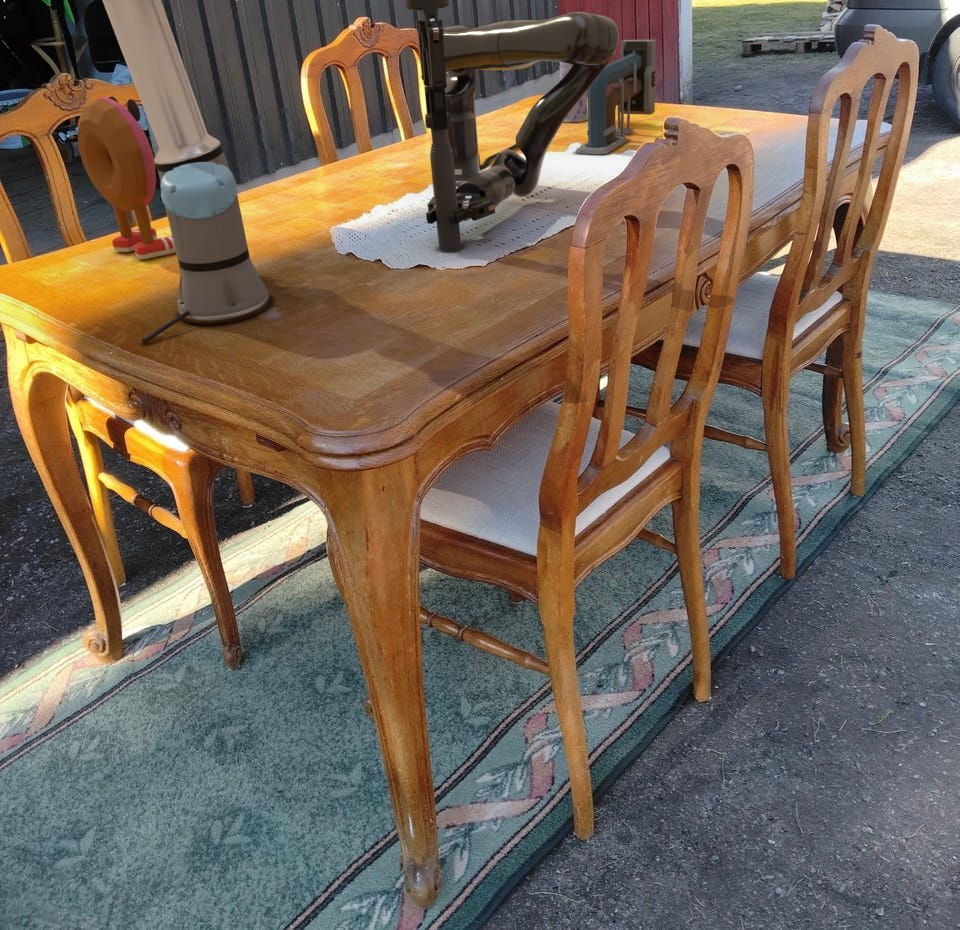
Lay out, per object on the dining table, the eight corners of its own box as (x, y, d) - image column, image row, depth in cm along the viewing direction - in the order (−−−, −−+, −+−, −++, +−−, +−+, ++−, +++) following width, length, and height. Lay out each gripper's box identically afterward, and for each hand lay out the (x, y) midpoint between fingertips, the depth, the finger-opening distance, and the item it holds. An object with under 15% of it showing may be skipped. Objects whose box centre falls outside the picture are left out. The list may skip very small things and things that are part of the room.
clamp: (605, 154, 239) (605, 62, 228) (573, 153, 243) (571, 62, 232) (654, 123, 265) (655, 39, 254) (624, 122, 269) (624, 39, 258)
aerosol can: (559, 122, 275) (557, 47, 265) (562, 117, 282) (559, 42, 272) (587, 121, 274) (585, 45, 263) (589, 115, 280) (587, 41, 270)
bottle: (434, 249, 185) (422, 129, 174) (448, 243, 188) (437, 124, 177) (452, 252, 183) (440, 130, 172) (465, 246, 186) (455, 125, 175)
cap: (450, 127, 172) (449, 115, 171) (426, 129, 172) (425, 117, 171) (448, 122, 176) (447, 110, 175) (424, 125, 176) (423, 113, 175)
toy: (197, 251, 195) (161, 95, 180) (152, 266, 189) (111, 105, 174) (143, 235, 208) (105, 88, 193) (99, 248, 202) (57, 97, 187)
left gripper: (457, -17, 156) (467, 133, 167) (438, -23, 170) (449, 115, 182) (411, -13, 154) (424, 138, 166) (396, -19, 169) (410, 120, 181)
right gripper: (447, 173, 194) (405, 197, 181) (512, 176, 188) (472, 201, 175) (450, 210, 198) (409, 236, 185) (514, 215, 192) (475, 241, 179)
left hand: (437, 126), depth 174 cm, fingers closed on cap, 4 cm apart
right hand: (440, 219), depth 180 cm, fingers closed on bottle, 4 cm apart
